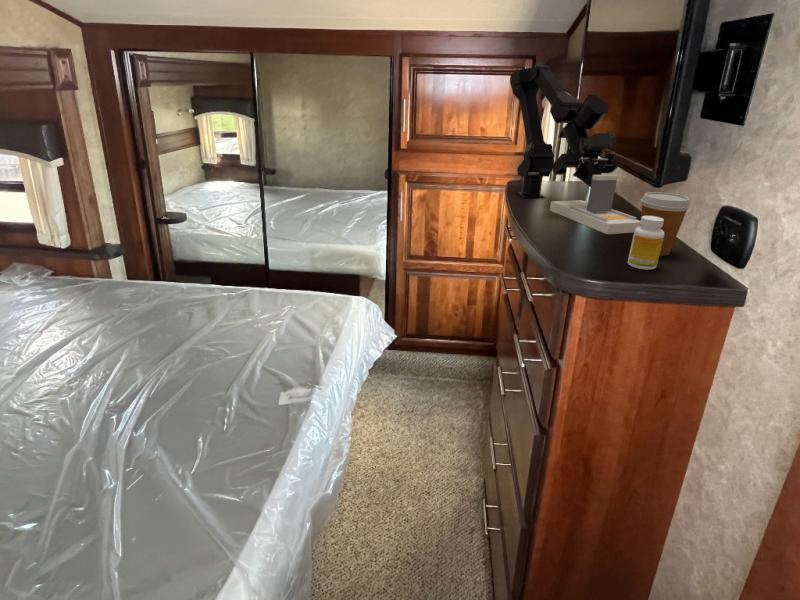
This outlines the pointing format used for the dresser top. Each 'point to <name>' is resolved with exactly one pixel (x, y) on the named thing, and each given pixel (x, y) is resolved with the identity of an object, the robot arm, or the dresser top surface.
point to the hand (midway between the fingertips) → (598, 191)
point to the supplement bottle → (646, 243)
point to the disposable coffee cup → (666, 214)
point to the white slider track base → (596, 217)
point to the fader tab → (602, 193)
